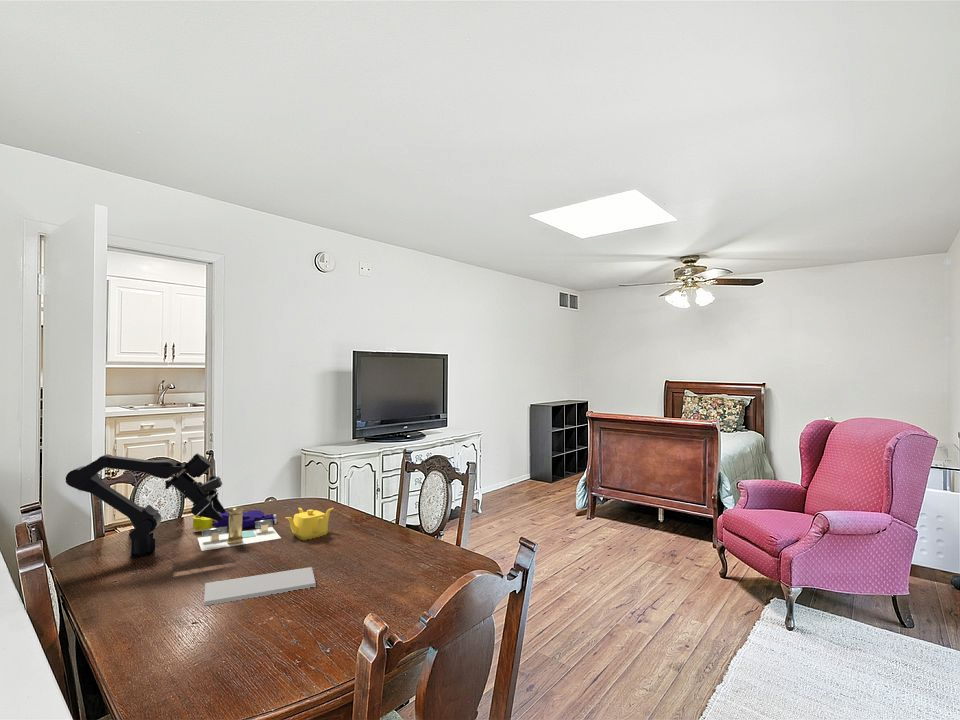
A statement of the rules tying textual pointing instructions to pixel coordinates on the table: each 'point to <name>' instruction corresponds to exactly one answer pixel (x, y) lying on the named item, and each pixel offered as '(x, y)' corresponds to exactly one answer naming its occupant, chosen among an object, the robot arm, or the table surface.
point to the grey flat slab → (258, 585)
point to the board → (248, 537)
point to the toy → (247, 520)
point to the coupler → (235, 525)
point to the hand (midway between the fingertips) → (223, 516)
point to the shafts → (216, 532)
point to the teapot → (309, 524)
